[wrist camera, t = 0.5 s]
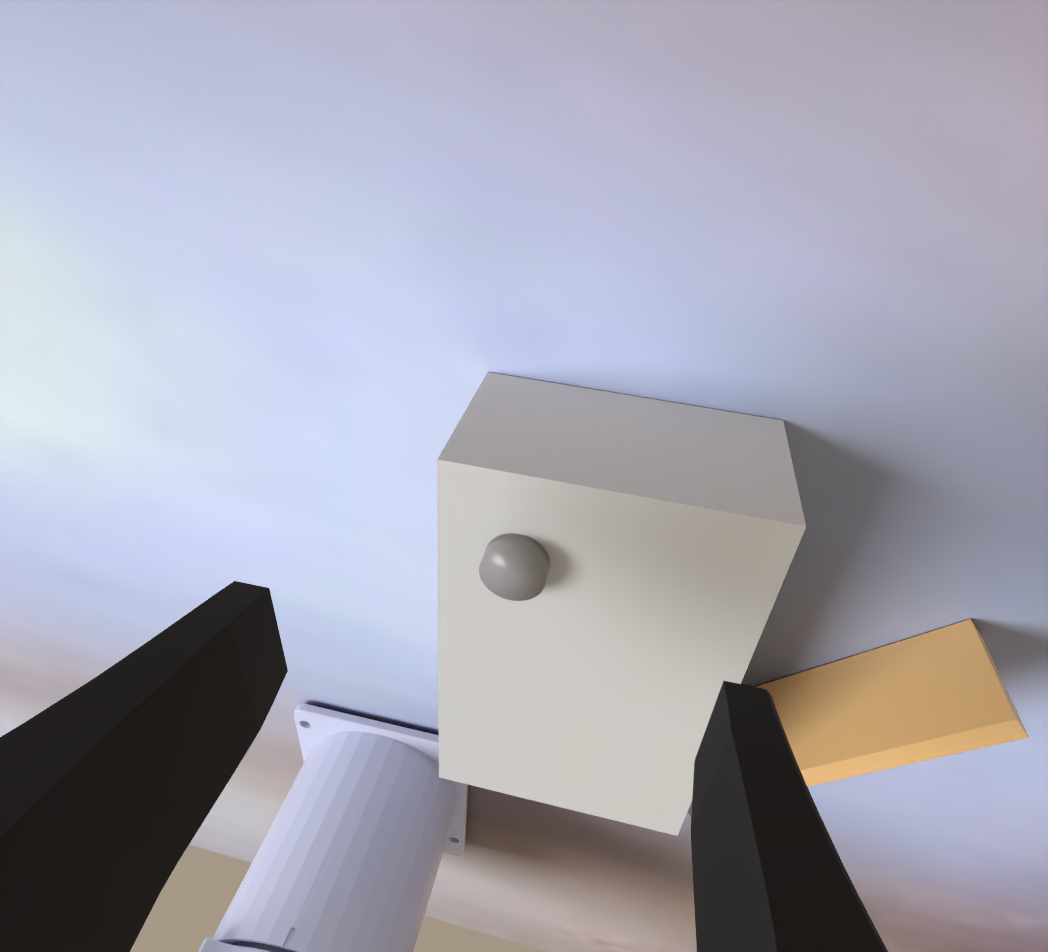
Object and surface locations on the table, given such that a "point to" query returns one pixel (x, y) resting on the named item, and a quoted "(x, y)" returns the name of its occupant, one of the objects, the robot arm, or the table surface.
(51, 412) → the table surface
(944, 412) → the table surface
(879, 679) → the side door
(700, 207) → the table surface
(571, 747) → the white knobbed box
